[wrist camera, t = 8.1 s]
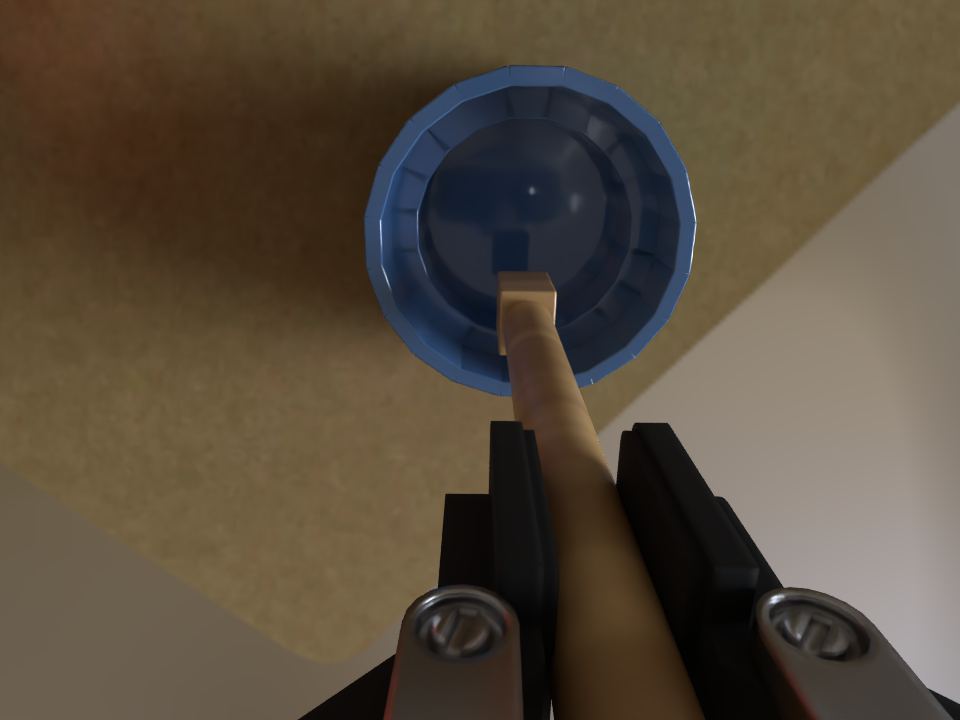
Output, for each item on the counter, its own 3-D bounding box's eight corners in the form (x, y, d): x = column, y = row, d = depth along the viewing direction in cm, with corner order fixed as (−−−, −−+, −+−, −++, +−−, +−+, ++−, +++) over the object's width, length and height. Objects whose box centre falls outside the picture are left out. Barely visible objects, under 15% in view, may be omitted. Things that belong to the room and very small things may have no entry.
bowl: (382, 73, 26) (356, 62, 20) (665, 78, 26) (717, 68, 20) (391, 342, 30) (371, 395, 24) (637, 346, 30) (674, 399, 24)
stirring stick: (497, 270, 24) (563, 731, 6) (547, 271, 24) (765, 731, 6) (495, 328, 24) (551, 894, 7) (544, 329, 24) (729, 894, 7)
